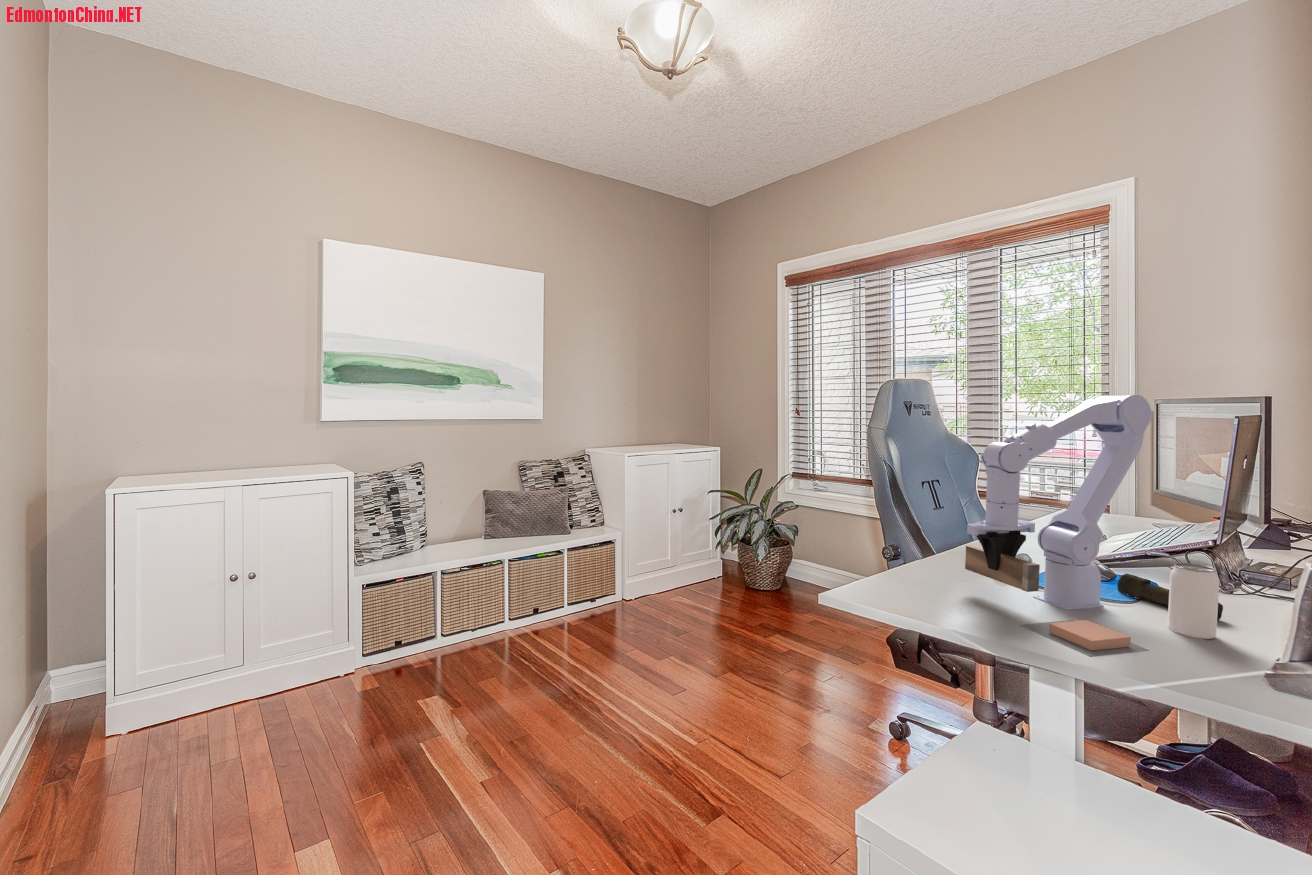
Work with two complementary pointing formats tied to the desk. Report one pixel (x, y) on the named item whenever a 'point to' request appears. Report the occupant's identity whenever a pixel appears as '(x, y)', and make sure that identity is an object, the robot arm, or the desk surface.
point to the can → (1193, 600)
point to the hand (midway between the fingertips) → (999, 568)
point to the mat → (1044, 631)
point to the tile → (1089, 635)
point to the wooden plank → (1004, 569)
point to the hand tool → (1148, 590)
